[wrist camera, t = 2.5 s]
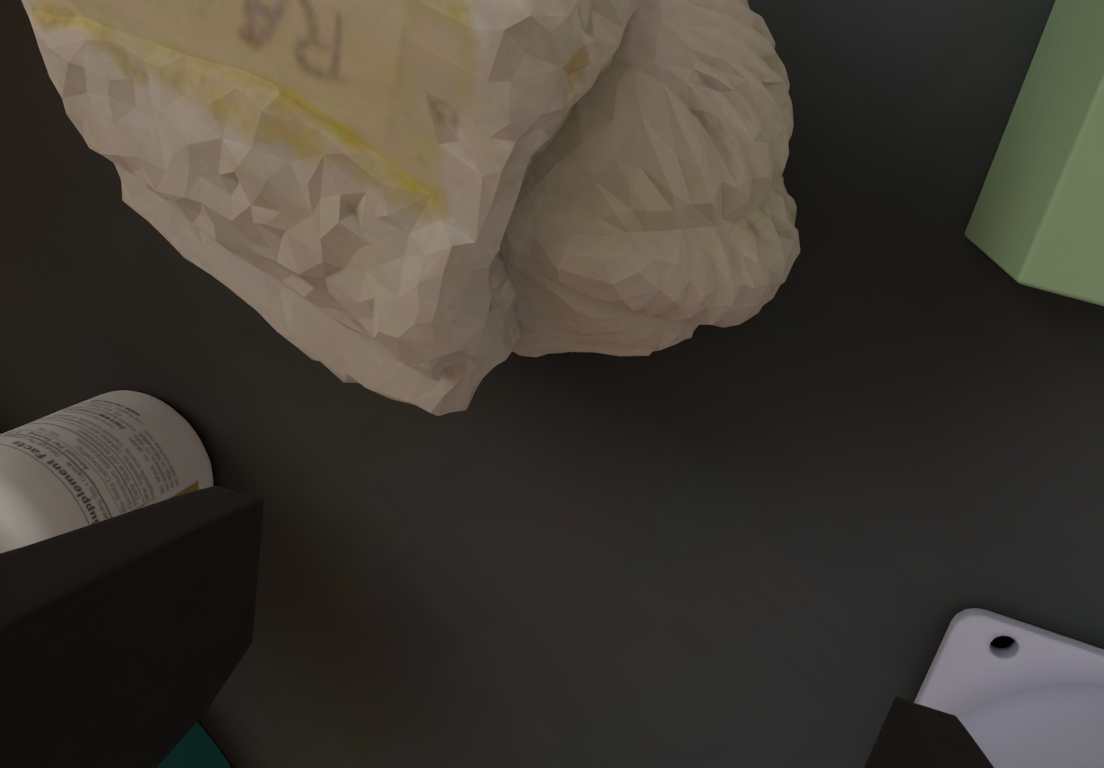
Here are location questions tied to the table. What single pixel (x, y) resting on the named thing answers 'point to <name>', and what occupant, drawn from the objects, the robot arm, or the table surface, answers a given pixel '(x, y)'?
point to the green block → (1052, 165)
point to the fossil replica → (447, 168)
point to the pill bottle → (95, 465)
